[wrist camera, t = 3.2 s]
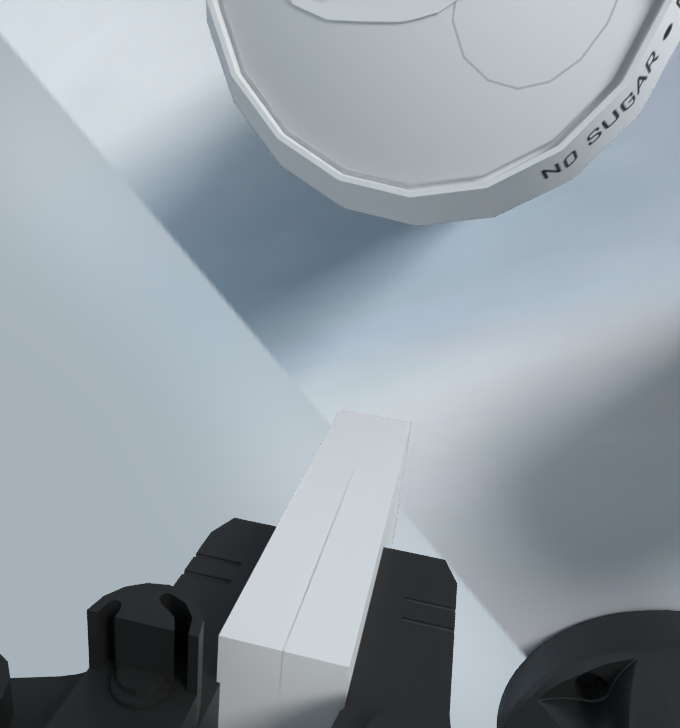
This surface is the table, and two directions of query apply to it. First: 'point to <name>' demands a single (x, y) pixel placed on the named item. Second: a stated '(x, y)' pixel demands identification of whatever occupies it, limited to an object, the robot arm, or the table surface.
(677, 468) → the table surface
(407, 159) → the supplement can
